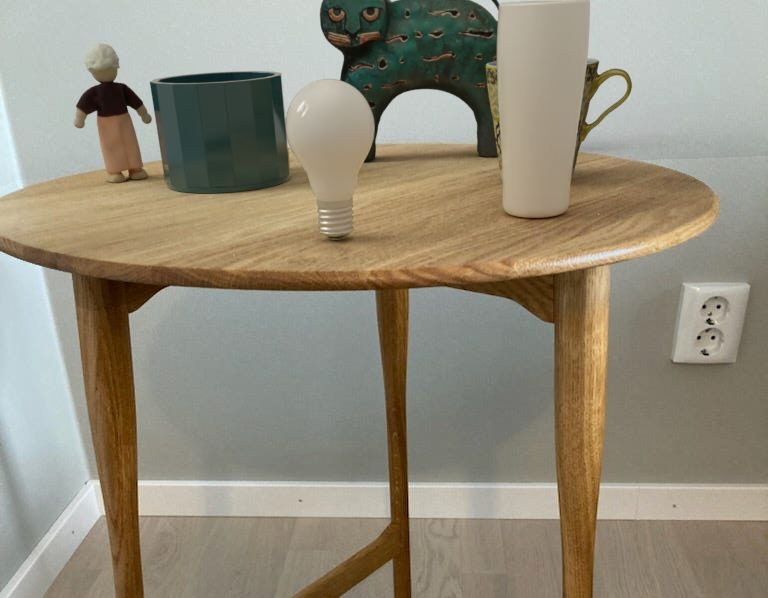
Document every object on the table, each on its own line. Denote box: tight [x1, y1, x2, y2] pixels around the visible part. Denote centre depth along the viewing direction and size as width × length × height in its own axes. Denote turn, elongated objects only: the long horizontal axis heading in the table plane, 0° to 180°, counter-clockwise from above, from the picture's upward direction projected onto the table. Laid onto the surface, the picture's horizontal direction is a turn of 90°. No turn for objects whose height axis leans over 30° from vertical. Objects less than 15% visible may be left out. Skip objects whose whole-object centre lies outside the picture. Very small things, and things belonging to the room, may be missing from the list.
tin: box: [149, 70, 291, 194], centre depth 90 cm, size 12×12×10 cm
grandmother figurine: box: [73, 42, 153, 183], centre depth 92 cm, size 8×4×13 cm, turn 130°
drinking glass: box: [497, 0, 591, 219], centre depth 70 cm, size 7×7×15 cm
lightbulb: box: [286, 78, 375, 241], centre depth 66 cm, size 6×6×11 cm
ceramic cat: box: [319, 0, 500, 163], centre depth 95 cm, size 20×6×20 cm, turn 88°
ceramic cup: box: [486, 57, 633, 182], centre depth 83 cm, size 13×10×10 cm
